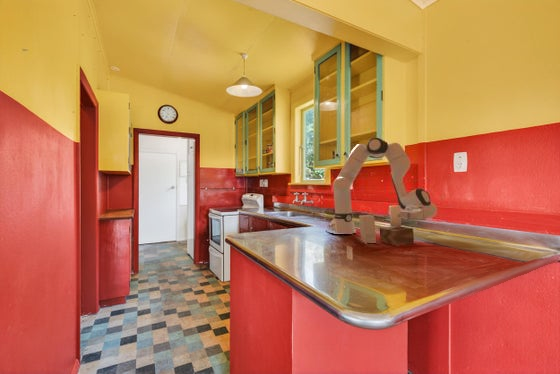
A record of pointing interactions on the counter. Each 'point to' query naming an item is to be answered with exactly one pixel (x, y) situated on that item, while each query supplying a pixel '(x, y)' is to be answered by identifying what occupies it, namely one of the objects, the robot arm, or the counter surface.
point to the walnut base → (397, 235)
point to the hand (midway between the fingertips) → (393, 214)
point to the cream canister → (395, 216)
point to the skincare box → (367, 228)
